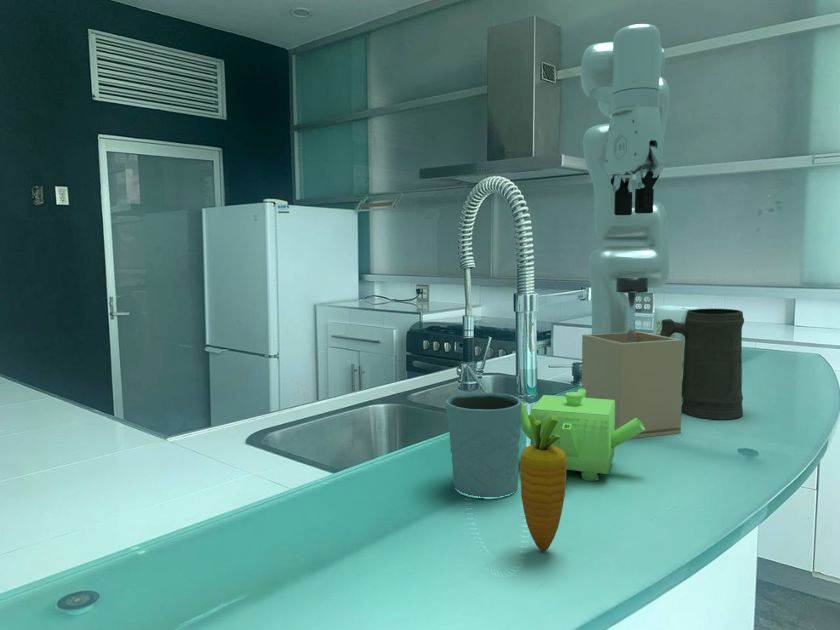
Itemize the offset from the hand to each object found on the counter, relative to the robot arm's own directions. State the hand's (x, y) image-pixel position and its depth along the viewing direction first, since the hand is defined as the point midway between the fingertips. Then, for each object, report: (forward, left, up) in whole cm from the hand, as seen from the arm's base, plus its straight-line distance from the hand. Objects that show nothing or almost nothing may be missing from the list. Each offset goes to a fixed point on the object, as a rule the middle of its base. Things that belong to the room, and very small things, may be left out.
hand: (633, 213), depth 109 cm
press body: (-1, 0, -37) cm, 37 cm away
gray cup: (+18, -35, -38) cm, 55 cm away
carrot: (+37, -36, -38) cm, 64 cm away
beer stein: (-4, +18, -38) cm, 42 cm away
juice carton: (-17, +23, -38) cm, 47 cm away
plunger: (0, 0, -26) cm, 26 cm away
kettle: (+15, -20, -38) cm, 45 cm away
